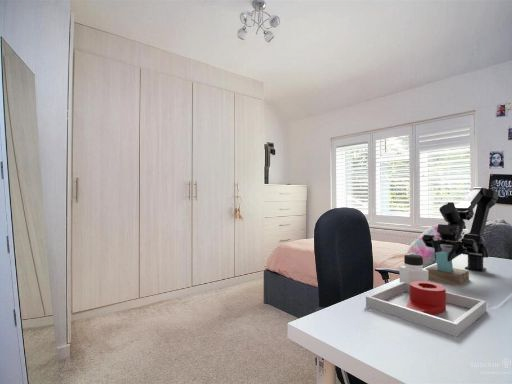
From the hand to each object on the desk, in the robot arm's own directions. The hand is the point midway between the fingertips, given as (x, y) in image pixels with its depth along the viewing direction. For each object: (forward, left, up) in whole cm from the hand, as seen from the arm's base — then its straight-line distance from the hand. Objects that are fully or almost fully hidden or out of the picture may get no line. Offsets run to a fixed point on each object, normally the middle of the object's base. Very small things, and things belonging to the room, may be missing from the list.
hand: (441, 259), depth 114 cm
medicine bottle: (+17, -3, -8) cm, 20 cm away
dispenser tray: (+35, +8, -8) cm, 37 cm away
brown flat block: (-2, +1, -8) cm, 8 cm away
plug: (-1, +1, -7) cm, 7 cm away
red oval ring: (+38, +8, -9) cm, 39 cm away
